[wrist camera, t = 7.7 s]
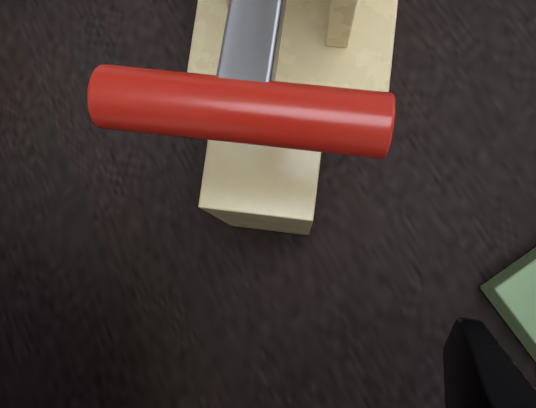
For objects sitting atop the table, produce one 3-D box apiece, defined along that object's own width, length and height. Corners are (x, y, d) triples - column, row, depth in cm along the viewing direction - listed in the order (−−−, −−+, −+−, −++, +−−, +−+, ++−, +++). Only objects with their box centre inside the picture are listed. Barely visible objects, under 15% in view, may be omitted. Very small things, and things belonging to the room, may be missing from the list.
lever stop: (308, 235, 22) (313, 221, 15) (229, 225, 22) (197, 207, 15) (319, 148, 22) (327, 95, 15) (241, 140, 23) (215, 84, 16)
